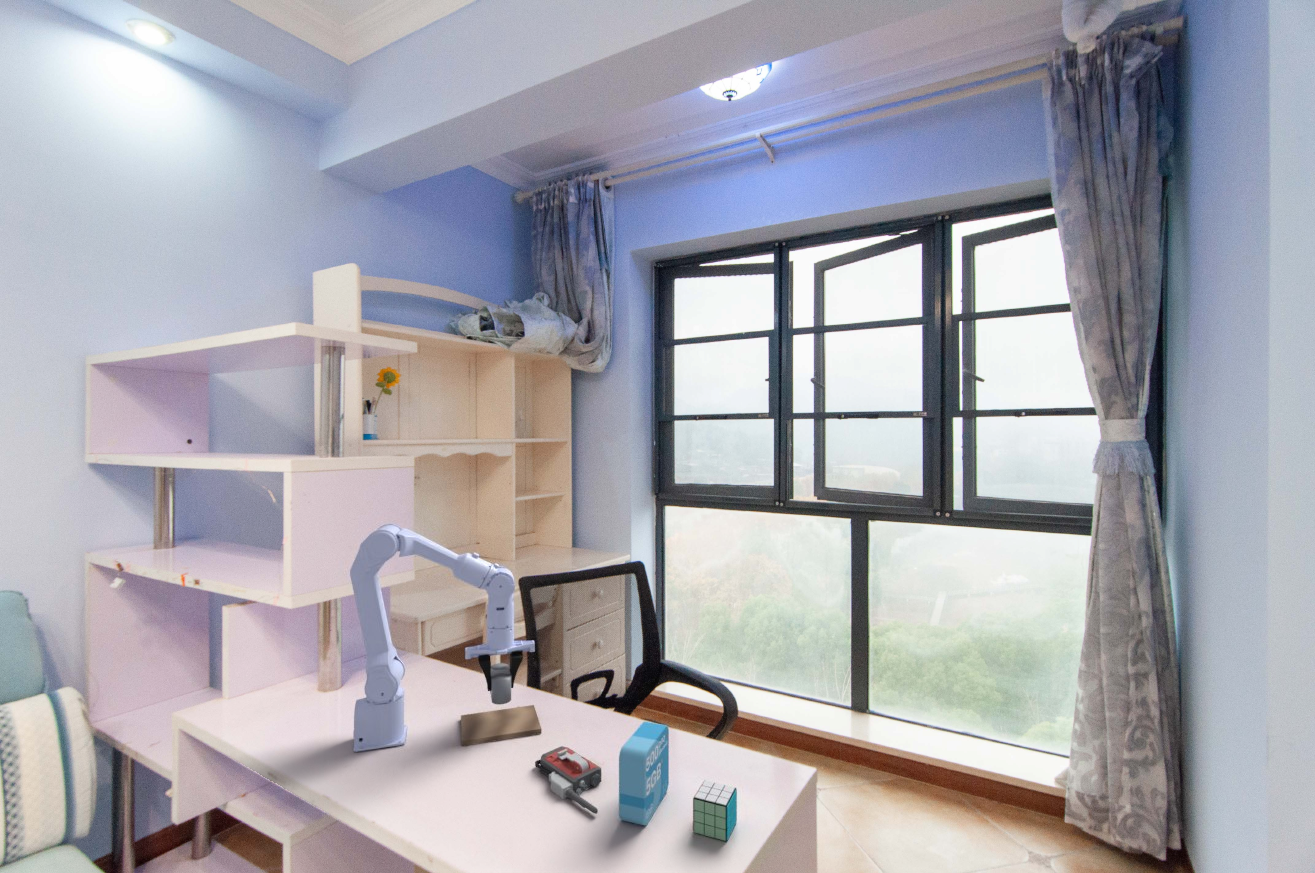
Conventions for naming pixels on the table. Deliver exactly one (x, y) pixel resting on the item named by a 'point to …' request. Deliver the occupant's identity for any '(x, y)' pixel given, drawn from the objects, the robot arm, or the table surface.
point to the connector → (500, 683)
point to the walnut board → (499, 725)
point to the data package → (643, 772)
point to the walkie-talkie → (570, 774)
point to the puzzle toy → (715, 810)
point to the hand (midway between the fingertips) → (500, 687)
